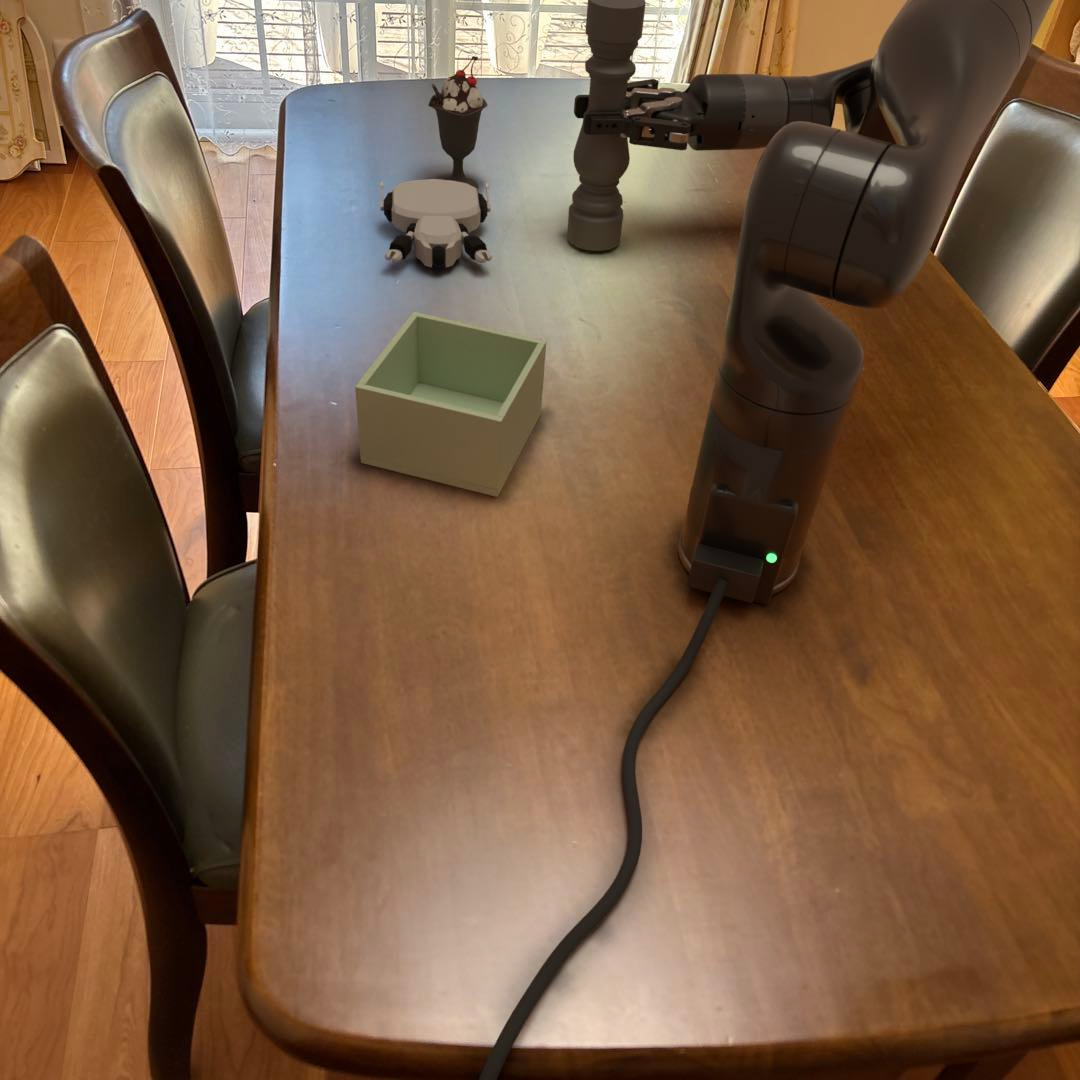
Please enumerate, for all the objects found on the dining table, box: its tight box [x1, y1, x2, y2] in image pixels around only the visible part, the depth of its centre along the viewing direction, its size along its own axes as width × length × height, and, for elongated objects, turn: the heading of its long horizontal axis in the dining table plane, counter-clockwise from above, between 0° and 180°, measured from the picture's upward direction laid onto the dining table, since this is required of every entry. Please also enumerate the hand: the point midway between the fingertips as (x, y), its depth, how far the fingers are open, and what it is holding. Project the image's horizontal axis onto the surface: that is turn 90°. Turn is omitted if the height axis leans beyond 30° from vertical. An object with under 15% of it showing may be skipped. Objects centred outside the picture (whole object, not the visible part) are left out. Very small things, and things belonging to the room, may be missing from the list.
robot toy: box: [379, 178, 493, 268], centre depth 113 cm, size 12×4×15 cm
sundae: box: [428, 55, 488, 190], centre depth 120 cm, size 7×7×15 cm
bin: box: [354, 311, 547, 498], centre depth 87 cm, size 12×12×8 cm
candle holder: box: [566, 0, 647, 252], centre depth 108 cm, size 6×6×25 cm
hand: (580, 114), depth 107 cm, fingers closed on candle holder, 3 cm apart
